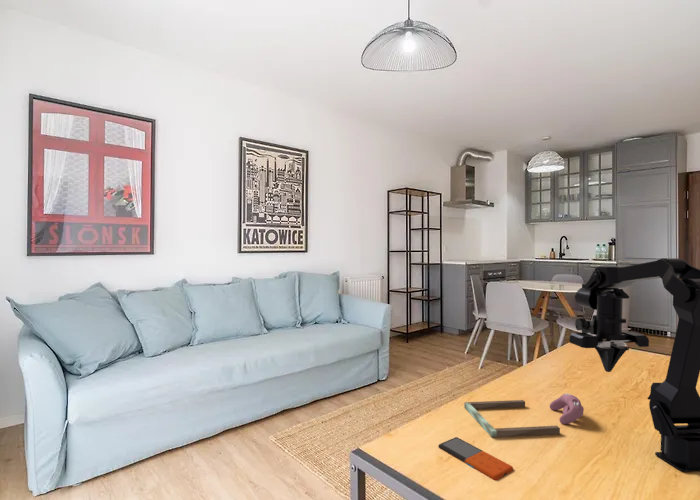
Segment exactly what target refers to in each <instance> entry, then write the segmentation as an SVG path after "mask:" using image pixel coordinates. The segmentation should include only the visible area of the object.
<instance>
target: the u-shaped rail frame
mask: <svg viewBox="0 0 700 500" xmlns="http://www.w3.org/2000/svg"><path fill="white" fill-rule="evenodd" d="M463 403H464V404H463V405H464V407H463V408H464V409H465V410H466V411H467V412H468V413H469V415H471V416H472V418H473V419H474V420H475V421H476V422H477V423H478V424H479V426H480V427H481V428H482V429H483V430H484V431H485V432H486V433H487V434H488V435H489V436H490V437H491V438H509V437H525V436H527V437H528V436H544V435H545V436H546V435H548V436H549V435H560V434H561V427H559V426H558V425H544V426H543V425H542V426H541V425H540V426H521V427H520V426H519V427H517V426H516V427H502V428H501V427H500V428H499V427H498V428H494V426H492V425H491V423H489V421H487V420H486V418H484V416H483V415H482V414H481V413H480V412H479V411H478V410H486V409H507V408H509V409H510V408H511V409H512V408H526V401H525V400H523V399H516V400H513V399H512V400H511V399H510V400H491V401H487V400H486V401H466V402H463Z"/></svg>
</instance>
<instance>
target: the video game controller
mask: <svg viewBox="0 0 700 500" xmlns="http://www.w3.org/2000/svg"><path fill="white" fill-rule="evenodd" d="M549 408H550V410H551V411H559V410H562V414H561V416H560V417H559V422H560V423H561V424H562V425H570V424H572V423H574V422H575V421H577V420H578V419H580V418H581V417H583V415H584V406H583V405H582V402H581V400H580V399H579V398H578V397H577V396H576V395H573V394H570V393H567V392H565V393H564V394H562V395H561V396H559V397H558V398H556V399H554V400H553V401H551V402H550V403H549Z"/></svg>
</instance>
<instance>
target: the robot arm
mask: <svg viewBox="0 0 700 500" xmlns="http://www.w3.org/2000/svg"><path fill="white" fill-rule="evenodd" d="M655 279H661V280H662V285H663V288H664V290H666V291H667V292H668V293H670V294H671V295H672V306H673V308H674V310H675V312H676V315H677V317H678V322H677V327H676V332H675V335H674V340H673V344H672V350H671V353H670V358H669V363H668V367H667V371H666V377H665V379H664V380H663V381H662V382H652V383H651V386H650V393H649V395H648V397H647V400H649V404H648V405H649V411H650V416H651V419H652V424H653V428H654V429H655V430H656V431H658V433H659V434H660V451H655V453H654V455H655V456H656V457H658V458H659V459H660V460H663V461H664V462H666V463H667V464H669V465H670V466H672V467H674V468H676V469H677V470H678V471H680V472H684V473H685V472H700V471H699V470H700V394H699V392H698V390H697V385H698V380H699V376H700V269H699V268H698V267H695V266H693V265H691V264H690V263H689V262H688V261H686V260H685V259H682V258H674V257H673V258H670V257H669V258H659V259H657V260H652V261H646V262H643V263H635V264H632V265H631V264H630V265H625V266H623V265H621V266H616V265H615V266H611V265H610V266H609V265H607V266H606V265H603V266H601V265H600V266H596V267H595V268H594V271H593V272H592V274H591V275H590V277H589V279H588V281H587V282H586V283H582V284H581V287H580V288H578V290H577V291H576V293H575V295H574V299H575V302H576V304H577V305H579V306H580V307H584V308H586V309H591V310H594V311H596V314H593V315H592V317H591V320H586V317H585V318H584V317H583V318H582V317H581V318H580V317H579V318H576V319H575V323H574V326H575V329H576V330H577V331H581V332H571V334H570V335H569V341H568V342H569V343H570V344H573V345H575V346H577V347H580V348H582V349H595V350H596V352H597V354H598V356H599V358H600V360H601V364H602V366H603V369H604V371H605V372H606V373H611V372H612V371H613V370H614V368H615V366H616V365H617V363H618V361H620V359H621V357H622V356H623V355H624V354H625V353H626V351H629V350H630V348H629V347H626V343H630V344H631V343H635V345H636V346H637V347H639V348H646V347H647V348H648V347H649V346H650V339H649V338H648V336H647V335H646V334H642V333H639V332H635V331H623V324H627V319H626V318H623V309H624V307H623V303H624V299H627V300H628V299H629V298H630V295H629V294H628V293H626V291H624V289H623V288H626V287H628V286H631V285H632V284H633V283H636V282H640V281H647V280H655ZM682 424H683V425H682Z"/></svg>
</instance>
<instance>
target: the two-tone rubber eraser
mask: <svg viewBox="0 0 700 500" xmlns="http://www.w3.org/2000/svg"><path fill="white" fill-rule="evenodd" d="M438 448H439V449H440V450H442V451H444V452H445V453H447V454H449V455H450V456H452V457H453V458H455V459H458V460H459V461H460V462H461V463H464V464H466V465H468V467H471V468H473V469H474V470H475V471H477V472H479V473H481V474H483V475H485V476H486V477H488V478H490V479H492V480H493V481H498V480H499V479H501V478H503V477H504V476H505V475H508V474H510V473H511V472H513V471H514V467H513V466H512V465H511V464H509V463H507V462H506V461H505V462H504V460H502V459H499V458H498V457H495V456H494V455H491V454H490V453H488V452H486V451H484V450H482V449H481V448H479V447H476V446H474V445H473V444H471V443H469V442H467V441H465V440H463V439H461V438H459V437H458V436H457V437H453V438H450V439H448V440H445V441H444V442H442V443H441V442H440V443H439V444H438Z"/></svg>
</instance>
